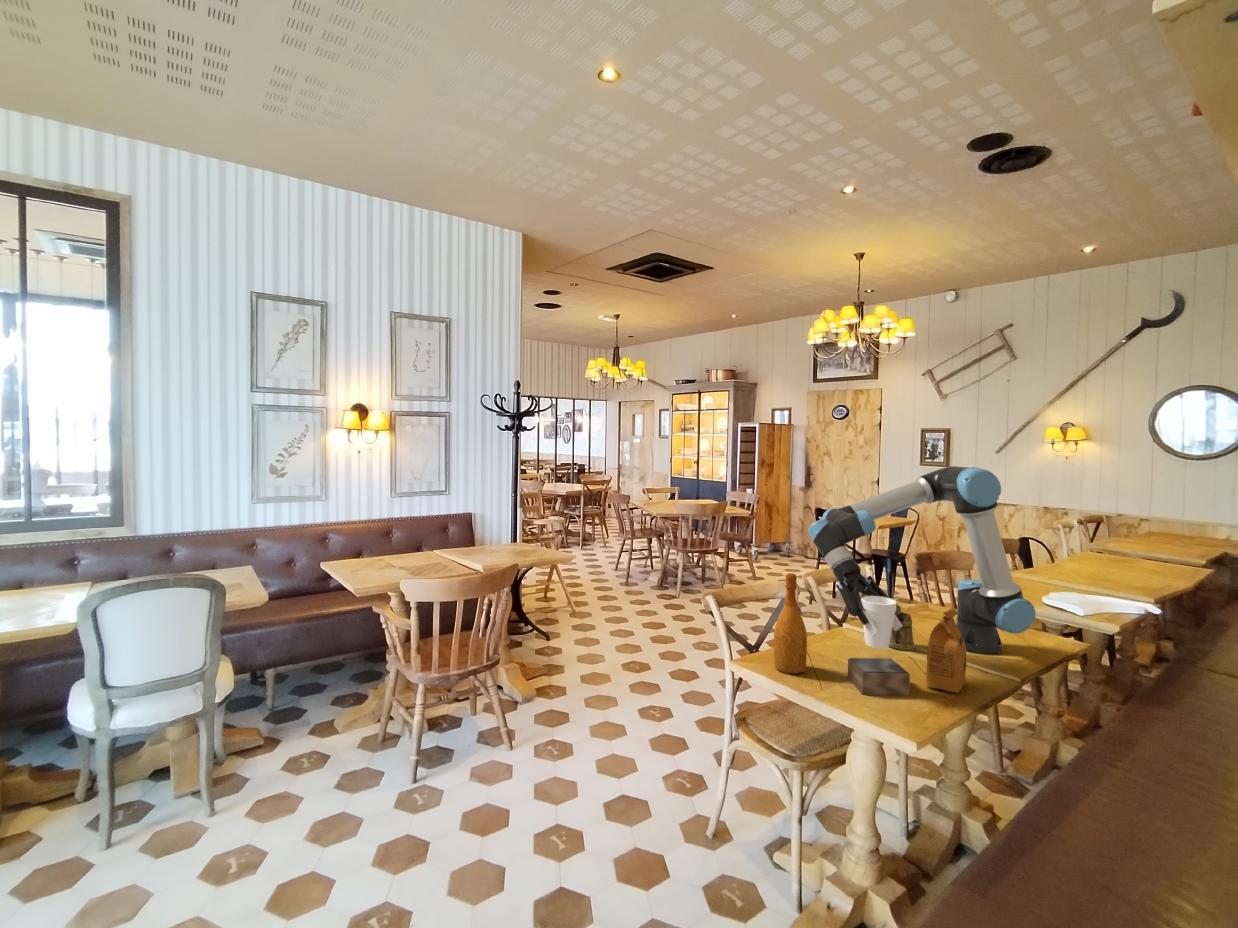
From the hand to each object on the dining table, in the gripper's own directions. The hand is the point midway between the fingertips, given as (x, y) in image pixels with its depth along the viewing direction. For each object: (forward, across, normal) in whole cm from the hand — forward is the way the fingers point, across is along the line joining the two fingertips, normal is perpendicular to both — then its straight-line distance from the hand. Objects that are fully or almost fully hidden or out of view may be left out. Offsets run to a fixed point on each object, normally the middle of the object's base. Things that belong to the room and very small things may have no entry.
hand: (887, 631), depth 163 cm
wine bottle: (-5, +13, -30) cm, 33 cm away
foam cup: (+1, 0, -6) cm, 6 cm away
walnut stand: (+10, 0, -14) cm, 17 cm away
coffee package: (+17, -18, -8) cm, 26 cm away
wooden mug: (-2, -34, -27) cm, 43 cm away
